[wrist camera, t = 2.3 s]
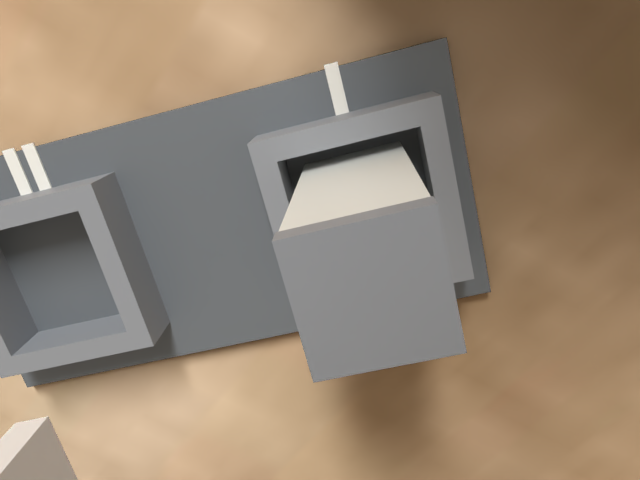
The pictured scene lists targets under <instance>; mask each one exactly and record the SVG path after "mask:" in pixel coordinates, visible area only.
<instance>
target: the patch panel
mask: <svg viewBox="0 0 640 480" xmlns="http://www.w3.org/2000/svg"><path fill="white" fill-rule="evenodd" d="M324 68H325V70H321V71H318V72H314V73H310V74H306V75H303V76H299V77H295V78H291V79H287V80H284V81H280V82H276V83H272V84H269V85H265V86H261V87H257V88H254V89H250V90H246V91H242V92H239V93H235V94H231V95H227V96H223V97H220V98H216V99H212V100H208V101H205V102H201V103H197V104H193V105H190V106H186V107H182V108H178V109H175V110H171V111H167V112H163V113H160V114H156V115H152V116H148V117H144V118H141V119H137V120H133V121H129V122H126V123H122V124H118V125H114V126H111V127H107V128H103V129H99V130H96V131H92V132H88V133H84V134H81V135H77V136H73V137H69V138H65V139H62V140H58V141H54V142H50V143H47V144H43V145H39V146H35V144H34V143H30V144H26V145H23V146H21V147H22V149H23V150H20V151H17V152H16V150H15V148H11V149H8V150H4V151H2V153H3V155H2V156H0V377H1V378H4V377H9V376H14V375H18V374H21V375H22V377H23V379H24V381H25V383H26V386H27V387H31V386H36V385H41V384H46V383H51V382H55V381H60V380H65V379H70V378H75V377H80V376H85V375H89V374H94V373H99V372H104V371H109V370H114V369H119V368H123V367H128V366H133V365H138V364H143V363H148V362H153V361H157V360H162V359H167V358H172V357H177V356H182V355H186V354H191V353H196V352H201V351H206V350H211V349H216V348H220V347H225V346H230V345H235V344H240V343H245V342H250V341H254V340H259V339H264V338H269V337H274V336H279V335H284V334H288V333H293V332H298V329H297V325H296V322H295V318H294V315H293V312H292V308H291V305H290V302H289V298H288V295H287V292H286V288H285V285H284V281H283V278H282V275H281V271H280V268H279V265H278V261H277V258H276V254H275V251H274V248H273V244H272V239H273V237H274V234H275V232H278V231H279V229H280V226H281V224H282V221H283V219H284V216H285V214H286V211H287V209H288V206H289V204H290V201H291V199H292V196H293V194H294V191H295V188H296V186H297V183H298V181H299V178H300V176H301V173H302V171H303V168H304V166H305V164H309V163H313V162H317V161H321V160H325V159H329V158H333V157H337V156H341V155H346V154H350V153H354V152H358V151H362V150H366V149H370V148H374V147H378V146H382V145H386V144H390V143H395V142H399V141H400V143H401V145H402V146H403V148H404V150H405V152H406V153H407V155H408V157H409V159H410V160H411V162H412V164H413V166H414V167H415V169H416V171H417V173H418V175H419V176H420V178H421V180H422V182H423V183H424V185H425V187H426V189H427V190H428V192H429V194H430V196H434V198H435V200H436V201H437V203H438V208H439V213H440V218H441V223H442V228H443V233H444V238H445V243H446V249H447V254H448V259H449V264H450V269H451V274H452V279H453V284H454V289H455V295H456V299H458V298H463V297H468V296H473V295H478V294H482V293H487V292H491V289H490V284H489V278H488V272H487V267H486V261H485V255H484V249H483V244H482V238H481V232H480V226H479V221H478V215H477V209H476V203H475V198H474V192H473V186H472V180H471V175H470V169H469V163H468V157H467V152H466V146H465V140H464V134H463V129H462V123H461V117H460V111H459V106H458V100H457V94H456V89H455V83H454V77H453V71H452V66H451V60H450V54H449V48H448V43H447V37H446V38H442V39H438V40H434V41H430V42H427V43H423V44H419V45H415V46H412V47H408V48H404V49H400V50H397V51H393V52H389V53H385V54H382V55H378V56H374V57H370V58H366V59H363V60H359V61H355V62H351V63H348V64H344V65H340V66H338V62H334V63H330V64H326V65H324Z"/></svg>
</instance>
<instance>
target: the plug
mask: <svg viewBox="0 0 640 480" xmlns="http://www.w3.org/2000/svg"><path fill="white" fill-rule="evenodd" d="M272 244H273V248H274V251H275V254H276V258H277V261H278V265H279V268H280V271H281V275H282V278H283V281H284V285H285V288H286V292H287V295H288V298H289V302H290V305H291V308H292V312H293V315H294V318H295V322H296V325H297V329H298V332H299V335H300V339H301V342H302V345H303V349H304V352H305V356H306V359H307V362H308V366H309V369H310V372H311V376H312V379H313V383H314V382H319V381H325V380H330V379H335V378H340V377H345V376H350V375H356V374H361V373H366V372H371V371H376V370H381V369H387V368H392V367H397V366H402V365H407V364H412V363H418V362H423V361H428V360H433V359H438V358H443V357H449V356H454V355H459V354H464V353H467V351H466V346H465V341H464V335H463V330H462V325H461V320H460V315H459V310H458V305H457V300H456V295H455V289H454V284H453V279H452V274H451V269H450V264H449V259H448V254H447V249H446V243H445V238H444V233H443V228H442V223H441V218H440V213H439V208H438V203H437V201H436V200H435V198H434V196H430V194H429V192H428V190H427V189H426V187H425V185H424V183H423V182H422V180H421V178H420V176H419V175H418V173H417V171H416V169H415V167H414V166H413V164H412V162H411V160H410V159H409V157H408V155H407V153H406V152H405V150H404V148H403V146H402V145H401V143H400V141H399V142H395V143H390V144H386V145H382V146H378V147H374V148H370V149H366V150H362V151H358V152H354V153H350V154H346V155H341V156H337V157H333V158H329V159H325V160H321V161H317V162H313V163H309V164H305V166H304V168H303V171H302V173H301V176H300V178H299V181H298V183H297V186H296V188H295V191H294V194H293V196H292V199H291V201H290V204H289V206H288V209H287V211H286V214H285V216H284V219H283V221H282V224H281V226H280V229H279V231H278V232H275V234H274V237H273V239H272Z"/></svg>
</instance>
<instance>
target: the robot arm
mask: <svg viewBox="0 0 640 480" xmlns="http://www.w3.org/2000/svg"><path fill="white" fill-rule="evenodd" d="M0 480H78V479H77V477H76V475H75V473H74V471H73V468H72V466H71V464H70V462H69V460H68V458H67V456H66V453H65V451H64V449H63V447H62V445H61V443H60V441H59V438H58V436H57V434H56V432H55V430H54V428H53V426H52V423H51V421H50V419H49V417H48V416H47V417H42V418H37V419H32V420H27V421H23V422H18V423H14V425H13V426H12V427H11V428H10V429H9V430H8V431H7V432H6V433H5V434H4V436H3V437H2V438H1V439H0Z"/></svg>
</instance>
